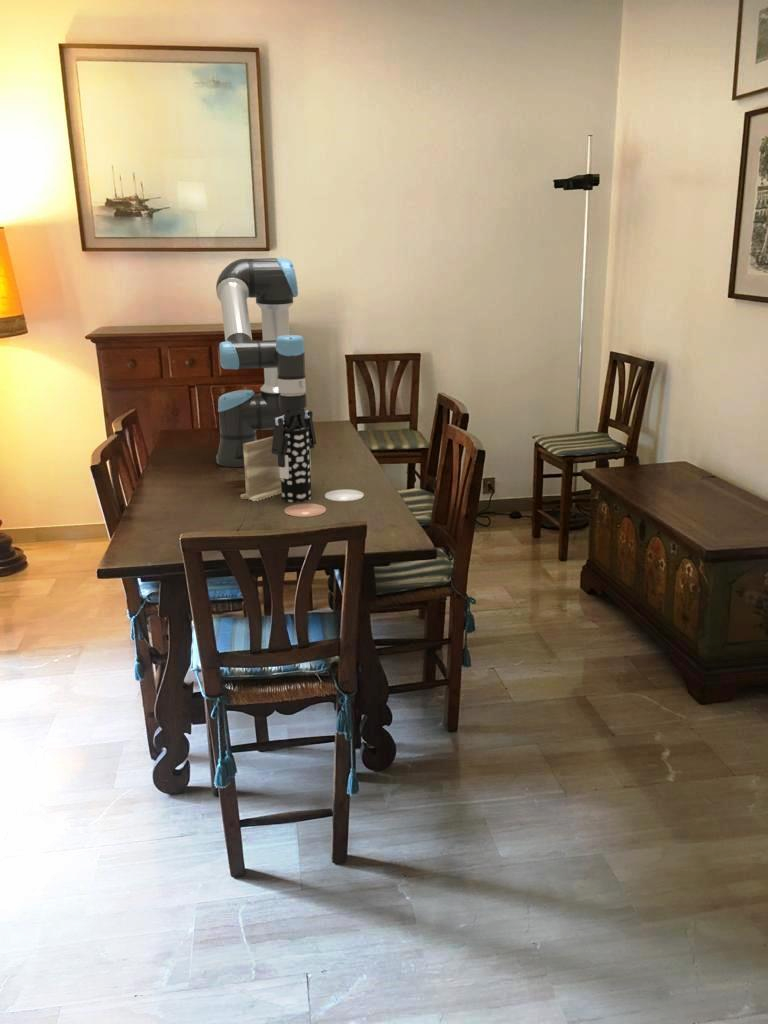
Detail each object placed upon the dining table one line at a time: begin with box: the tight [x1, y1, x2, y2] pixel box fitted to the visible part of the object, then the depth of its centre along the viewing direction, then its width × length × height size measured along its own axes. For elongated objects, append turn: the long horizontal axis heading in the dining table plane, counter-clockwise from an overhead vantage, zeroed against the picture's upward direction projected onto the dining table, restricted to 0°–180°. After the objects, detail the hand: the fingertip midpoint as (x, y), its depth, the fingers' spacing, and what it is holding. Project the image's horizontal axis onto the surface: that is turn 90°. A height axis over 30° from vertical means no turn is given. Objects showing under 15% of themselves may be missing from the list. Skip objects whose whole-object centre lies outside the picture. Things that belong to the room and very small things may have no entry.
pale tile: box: [324, 488, 365, 503], centre depth 231 cm, size 11×11×1 cm
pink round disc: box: [284, 503, 327, 518], centre depth 218 cm, size 11×11×1 cm
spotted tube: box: [281, 426, 312, 503], centre depth 226 cm, size 8×8×20 cm
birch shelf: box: [240, 435, 282, 502], centre depth 232 cm, size 6×18×16 cm, turn 145°
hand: (295, 474), depth 227 cm, fingers open, 9 cm apart
